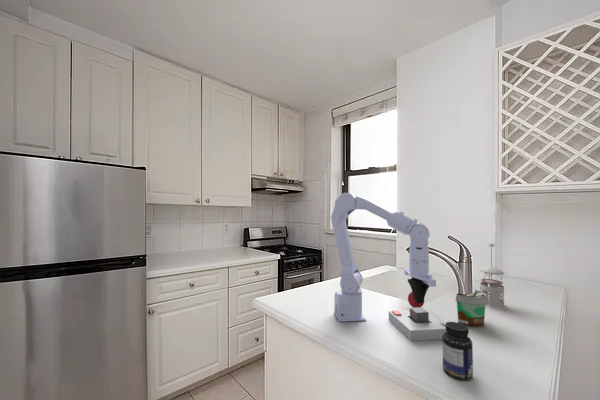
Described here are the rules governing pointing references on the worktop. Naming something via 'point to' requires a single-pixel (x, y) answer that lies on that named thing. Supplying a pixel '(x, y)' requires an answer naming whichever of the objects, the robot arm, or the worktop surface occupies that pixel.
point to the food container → (471, 308)
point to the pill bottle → (457, 351)
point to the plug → (419, 315)
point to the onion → (412, 301)
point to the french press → (493, 287)
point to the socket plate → (418, 326)
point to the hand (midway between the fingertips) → (418, 302)
